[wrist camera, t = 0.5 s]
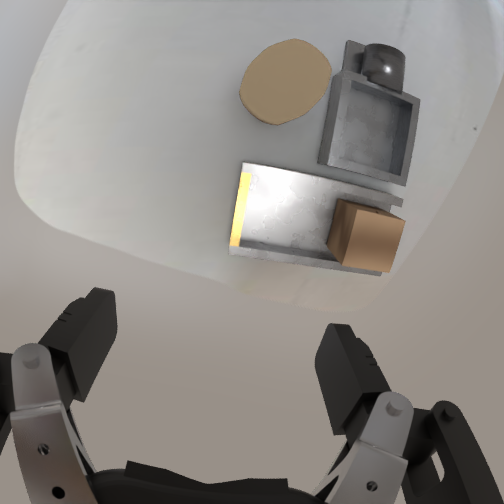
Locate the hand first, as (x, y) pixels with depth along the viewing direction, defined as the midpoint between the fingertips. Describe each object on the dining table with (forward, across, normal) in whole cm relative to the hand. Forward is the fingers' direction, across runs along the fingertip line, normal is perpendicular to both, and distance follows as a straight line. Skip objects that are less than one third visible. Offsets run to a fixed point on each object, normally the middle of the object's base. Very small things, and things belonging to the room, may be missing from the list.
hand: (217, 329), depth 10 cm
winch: (+25, -14, -14) cm, 32 cm away
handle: (+25, -2, -11) cm, 27 cm away
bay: (+25, -10, +1) cm, 27 cm away
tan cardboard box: (+23, -15, +1) cm, 28 cm away
